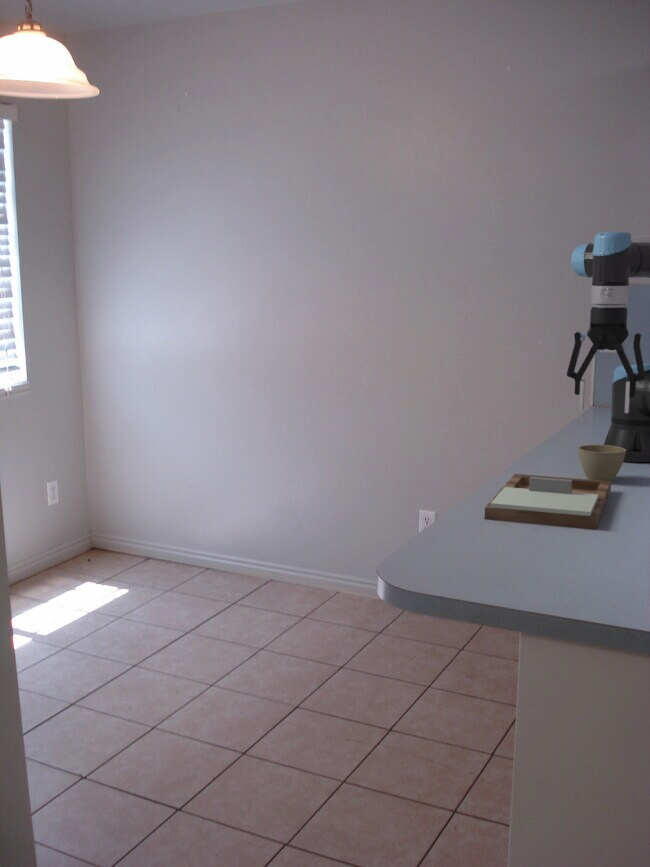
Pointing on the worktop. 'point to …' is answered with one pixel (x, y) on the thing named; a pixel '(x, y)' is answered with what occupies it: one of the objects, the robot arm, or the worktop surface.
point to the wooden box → (554, 518)
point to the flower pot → (601, 461)
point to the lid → (546, 498)
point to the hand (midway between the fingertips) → (603, 410)
